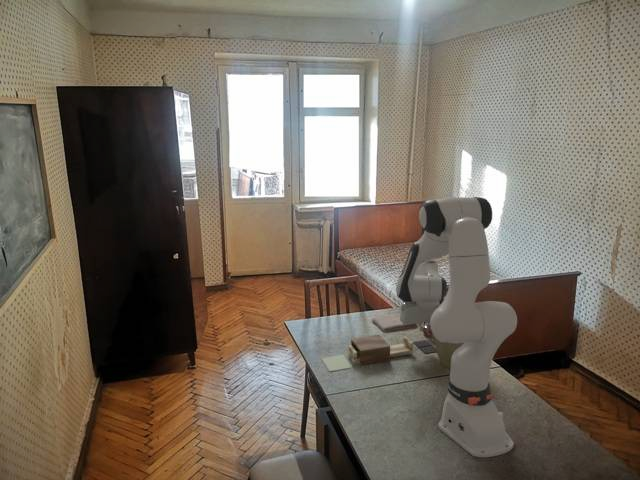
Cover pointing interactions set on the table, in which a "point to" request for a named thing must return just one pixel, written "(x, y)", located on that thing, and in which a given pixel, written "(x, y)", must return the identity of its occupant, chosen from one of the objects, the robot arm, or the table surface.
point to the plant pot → (445, 351)
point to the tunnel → (372, 349)
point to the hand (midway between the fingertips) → (423, 330)
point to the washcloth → (390, 322)
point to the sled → (394, 350)
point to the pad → (336, 363)
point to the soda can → (428, 333)
